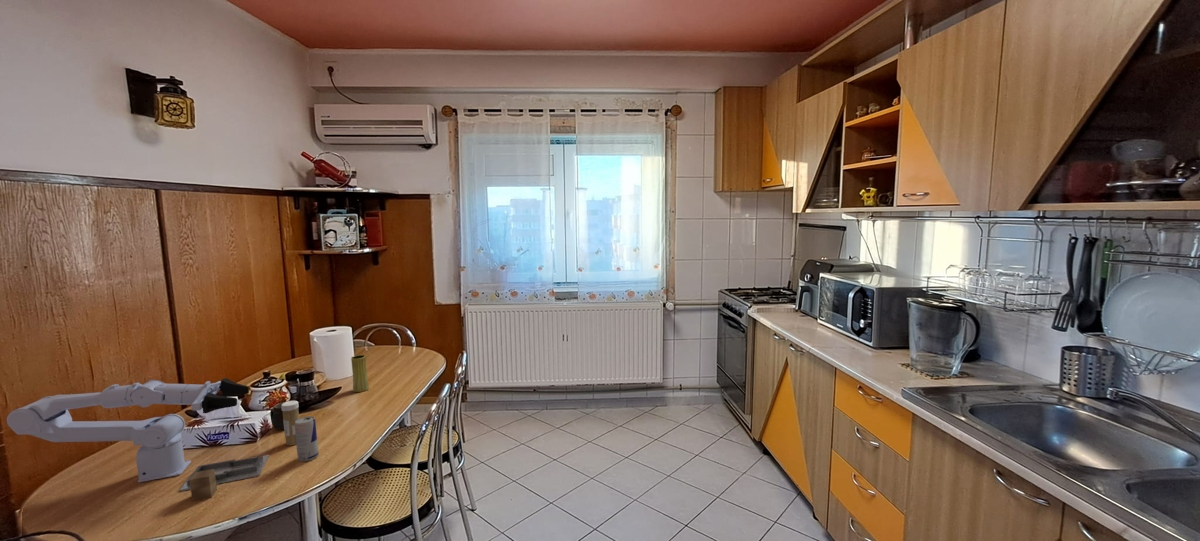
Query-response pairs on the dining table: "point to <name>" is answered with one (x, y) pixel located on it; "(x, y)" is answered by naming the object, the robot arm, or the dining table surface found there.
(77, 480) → the dining table surface
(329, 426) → the dining table surface
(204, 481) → the walnut peg
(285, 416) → the sprinkles bottle
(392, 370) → the dining table surface
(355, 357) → the vase
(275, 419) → the mate gourd
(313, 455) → the energy drink
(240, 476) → the keyhole plate
